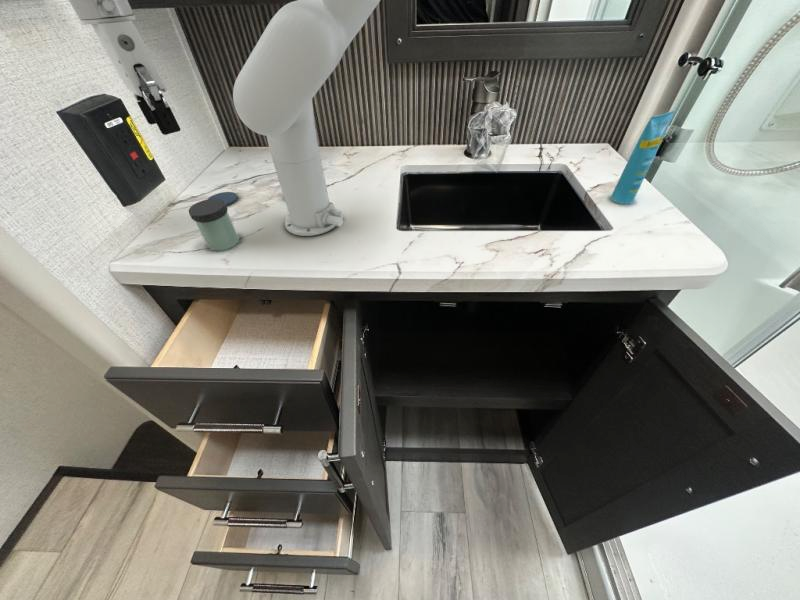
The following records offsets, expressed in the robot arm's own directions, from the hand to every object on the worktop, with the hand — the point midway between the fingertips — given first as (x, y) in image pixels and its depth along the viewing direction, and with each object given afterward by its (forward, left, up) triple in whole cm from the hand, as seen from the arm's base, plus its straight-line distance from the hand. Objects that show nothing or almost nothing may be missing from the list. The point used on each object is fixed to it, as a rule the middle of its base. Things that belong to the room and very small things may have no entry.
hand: (164, 127), depth 64 cm
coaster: (+7, -10, -21) cm, 25 cm away
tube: (-86, -50, -22) cm, 102 cm away
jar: (-9, +4, -21) cm, 24 cm away
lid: (-9, +4, -13) cm, 16 cm away
